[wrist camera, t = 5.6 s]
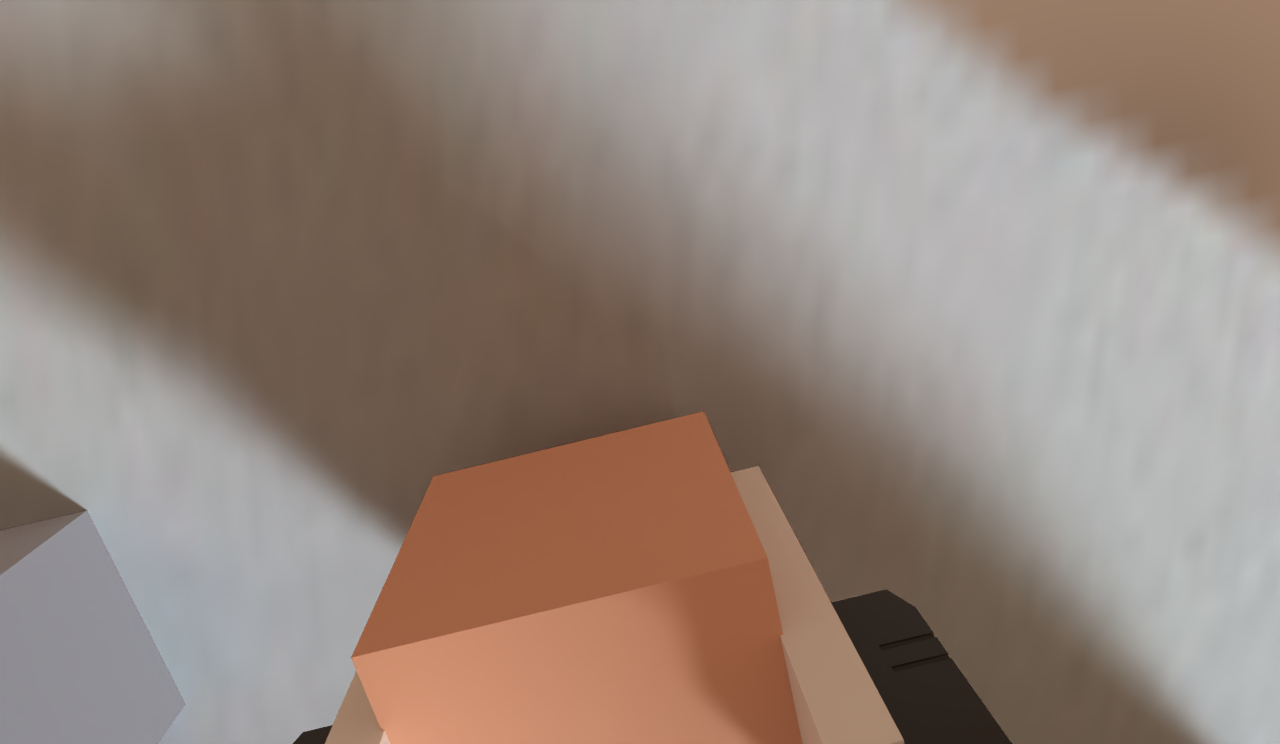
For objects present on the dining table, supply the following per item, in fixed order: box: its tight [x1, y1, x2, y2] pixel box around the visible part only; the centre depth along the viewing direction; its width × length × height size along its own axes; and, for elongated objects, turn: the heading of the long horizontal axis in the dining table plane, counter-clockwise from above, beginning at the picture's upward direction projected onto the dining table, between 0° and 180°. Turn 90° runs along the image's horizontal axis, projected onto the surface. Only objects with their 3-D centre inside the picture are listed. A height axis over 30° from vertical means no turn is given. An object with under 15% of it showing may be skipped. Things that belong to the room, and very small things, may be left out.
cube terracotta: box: [351, 411, 802, 744], centre depth 12 cm, size 5×5×5 cm
